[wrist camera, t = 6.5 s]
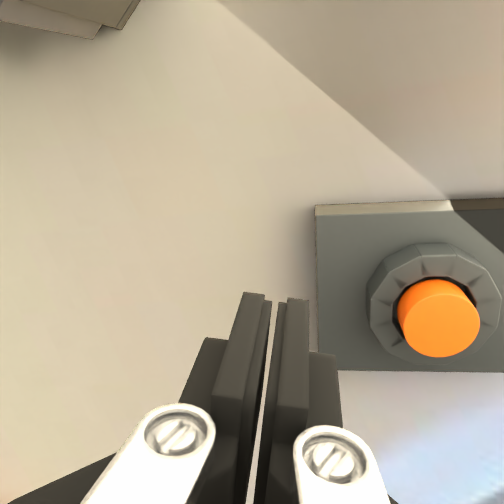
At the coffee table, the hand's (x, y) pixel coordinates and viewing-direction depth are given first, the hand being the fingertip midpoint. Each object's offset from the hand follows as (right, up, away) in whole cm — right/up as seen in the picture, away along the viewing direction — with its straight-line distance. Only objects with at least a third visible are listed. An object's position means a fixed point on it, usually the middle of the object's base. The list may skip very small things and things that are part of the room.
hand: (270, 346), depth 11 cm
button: (+9, -1, +12) cm, 15 cm away
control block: (+10, +1, +15) cm, 18 cm away
